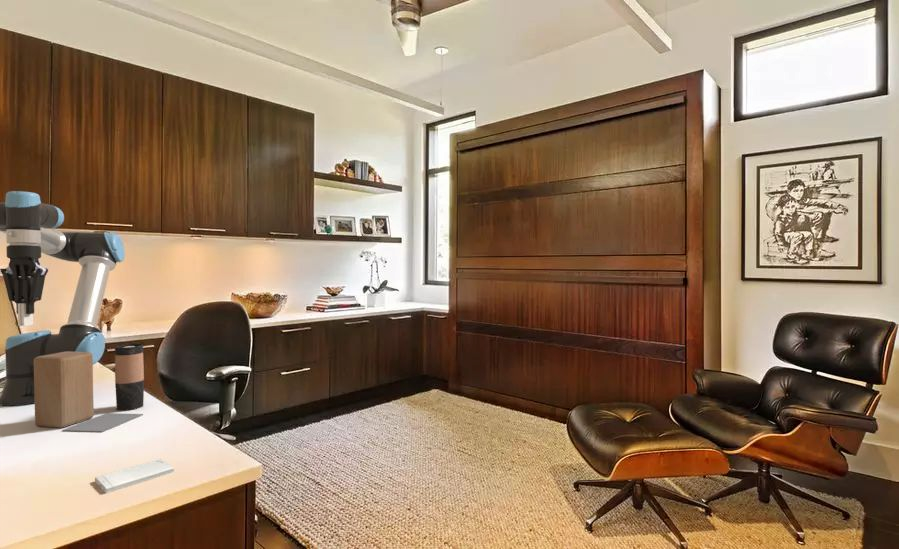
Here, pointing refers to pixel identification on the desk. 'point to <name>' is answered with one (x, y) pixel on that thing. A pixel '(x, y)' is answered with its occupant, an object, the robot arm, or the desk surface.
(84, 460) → the desk surface
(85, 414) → the block
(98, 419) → the mat
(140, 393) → the travel mug
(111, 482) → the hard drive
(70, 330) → the robot arm
